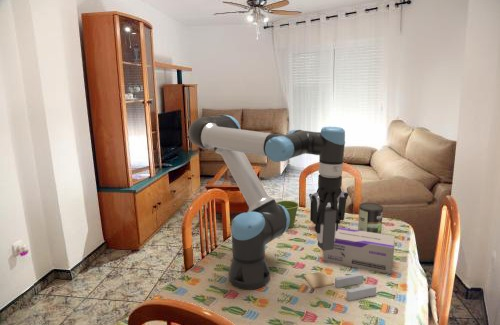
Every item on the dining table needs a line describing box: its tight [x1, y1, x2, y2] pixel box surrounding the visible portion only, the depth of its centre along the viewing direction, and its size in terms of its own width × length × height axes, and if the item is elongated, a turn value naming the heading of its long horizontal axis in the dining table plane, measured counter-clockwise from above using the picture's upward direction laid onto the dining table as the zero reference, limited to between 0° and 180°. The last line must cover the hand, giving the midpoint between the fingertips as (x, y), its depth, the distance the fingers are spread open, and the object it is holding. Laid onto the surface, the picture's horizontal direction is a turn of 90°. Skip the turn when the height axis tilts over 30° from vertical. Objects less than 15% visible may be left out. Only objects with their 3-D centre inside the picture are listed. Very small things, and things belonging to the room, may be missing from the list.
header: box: [334, 272, 377, 302], centre depth 112 cm, size 10×9×3 cm
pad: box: [302, 271, 335, 289], centre depth 119 cm, size 8×8×1 cm
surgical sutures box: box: [322, 227, 396, 275], centre depth 130 cm, size 25×11×11 cm, turn 64°
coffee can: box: [357, 202, 384, 234], centre depth 152 cm, size 10×10×14 cm
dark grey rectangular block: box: [317, 207, 336, 251], centre depth 113 cm, size 4×4×14 cm
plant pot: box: [276, 200, 300, 229], centre depth 165 cm, size 12×12×11 cm
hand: (325, 240), depth 114 cm, fingers closed on dark grey rectangular block, 4 cm apart
